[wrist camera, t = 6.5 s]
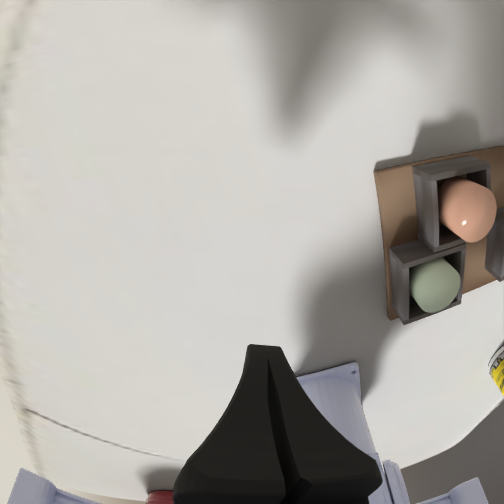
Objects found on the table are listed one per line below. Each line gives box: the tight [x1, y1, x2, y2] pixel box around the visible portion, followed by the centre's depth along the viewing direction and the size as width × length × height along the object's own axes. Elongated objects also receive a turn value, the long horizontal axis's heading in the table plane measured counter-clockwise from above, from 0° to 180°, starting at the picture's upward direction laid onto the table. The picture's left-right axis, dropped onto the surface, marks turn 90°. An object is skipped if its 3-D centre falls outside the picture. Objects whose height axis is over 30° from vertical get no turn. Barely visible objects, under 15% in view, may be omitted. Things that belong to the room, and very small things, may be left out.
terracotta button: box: [437, 176, 497, 243], centre depth 16 cm, size 4×4×3 cm
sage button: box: [409, 257, 460, 313], centre depth 20 cm, size 4×4×3 cm
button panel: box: [374, 146, 504, 325], centre depth 19 cm, size 12×15×3 cm
